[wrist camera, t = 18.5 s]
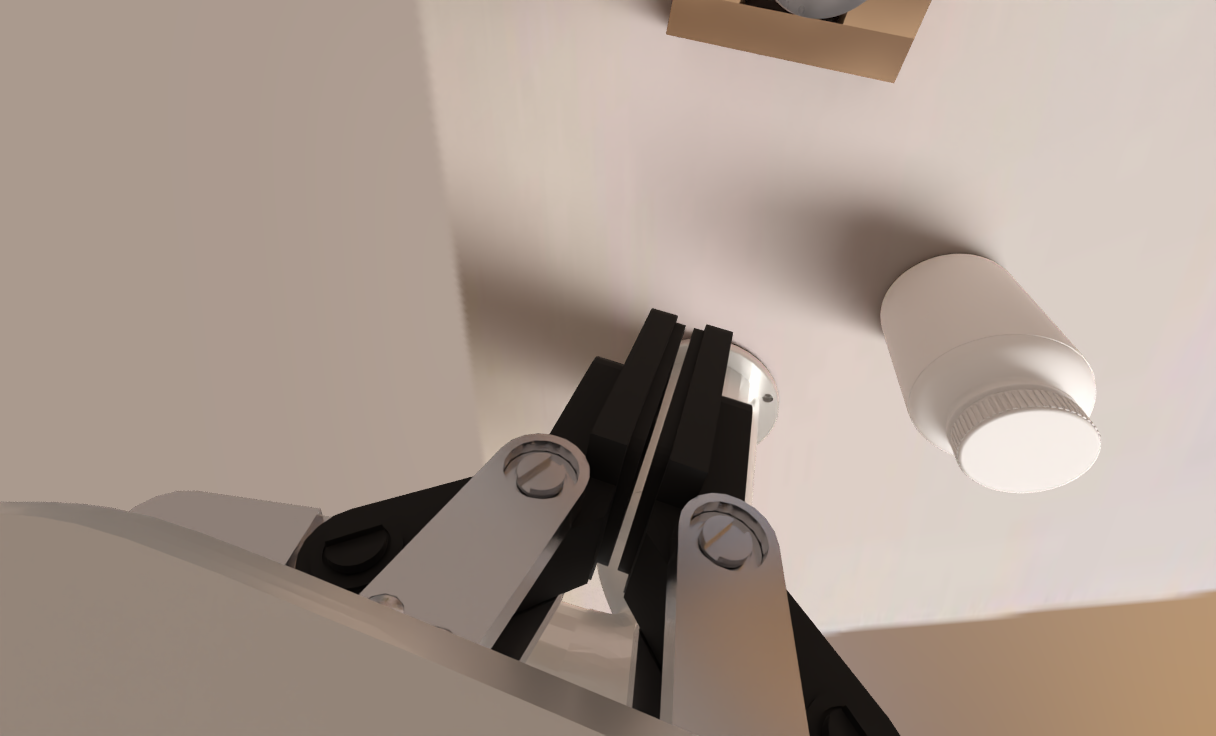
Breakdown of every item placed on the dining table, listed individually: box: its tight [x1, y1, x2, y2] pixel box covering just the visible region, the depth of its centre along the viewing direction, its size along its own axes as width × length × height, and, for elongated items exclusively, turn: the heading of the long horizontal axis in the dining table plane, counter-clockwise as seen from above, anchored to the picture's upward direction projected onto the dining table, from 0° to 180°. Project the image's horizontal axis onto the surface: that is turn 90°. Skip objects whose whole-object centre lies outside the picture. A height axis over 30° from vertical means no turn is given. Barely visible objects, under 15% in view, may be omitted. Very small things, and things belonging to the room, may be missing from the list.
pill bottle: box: [880, 254, 1101, 493], centre depth 28 cm, size 8×8×15 cm
